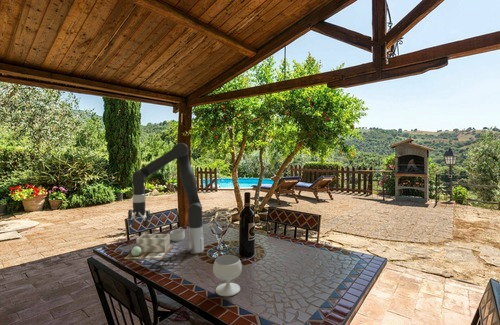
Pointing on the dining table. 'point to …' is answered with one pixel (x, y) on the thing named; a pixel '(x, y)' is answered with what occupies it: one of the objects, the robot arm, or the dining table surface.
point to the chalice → (227, 274)
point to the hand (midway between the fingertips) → (139, 225)
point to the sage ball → (136, 251)
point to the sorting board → (152, 246)
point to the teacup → (177, 235)
